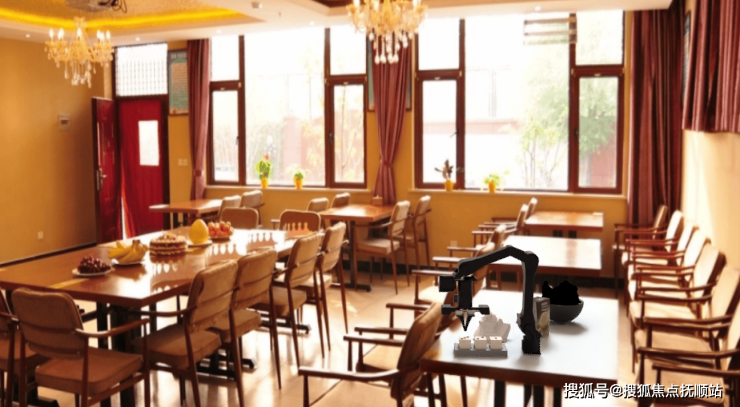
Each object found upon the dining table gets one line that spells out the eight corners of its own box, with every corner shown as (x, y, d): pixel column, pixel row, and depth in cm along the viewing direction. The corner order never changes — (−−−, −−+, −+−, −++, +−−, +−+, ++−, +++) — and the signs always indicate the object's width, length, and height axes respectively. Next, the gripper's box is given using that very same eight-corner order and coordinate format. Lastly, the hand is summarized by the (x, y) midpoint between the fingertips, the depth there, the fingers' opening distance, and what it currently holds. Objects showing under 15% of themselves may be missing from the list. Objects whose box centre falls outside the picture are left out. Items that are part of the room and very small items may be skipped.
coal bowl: (590, 321, 305) (591, 280, 303) (571, 331, 290) (571, 288, 289) (550, 314, 318) (550, 275, 317) (529, 323, 304) (530, 282, 302)
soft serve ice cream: (509, 348, 272) (505, 317, 268) (472, 348, 277) (468, 318, 272) (511, 332, 283) (507, 302, 279) (475, 333, 288) (472, 303, 284)
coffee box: (538, 339, 278) (538, 302, 277) (524, 336, 283) (525, 299, 281) (549, 335, 285) (550, 298, 283) (536, 332, 289) (536, 295, 288)
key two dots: (485, 346, 264) (485, 336, 264) (486, 349, 260) (486, 339, 259) (474, 346, 265) (474, 335, 264) (475, 349, 260) (475, 339, 260)
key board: (504, 349, 266) (504, 343, 266) (507, 356, 257) (507, 350, 257) (454, 349, 268) (454, 343, 267) (455, 356, 259) (455, 350, 258)
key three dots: (470, 346, 265) (470, 335, 264) (470, 349, 260) (470, 339, 260) (458, 346, 265) (458, 335, 265) (459, 349, 261) (459, 339, 260)
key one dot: (500, 346, 264) (500, 336, 263) (502, 350, 259) (502, 339, 259) (489, 346, 264) (489, 336, 264) (490, 349, 260) (490, 339, 259)
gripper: (487, 287, 268) (487, 325, 269) (440, 287, 269) (440, 325, 271) (490, 293, 257) (490, 333, 258) (441, 293, 258) (441, 333, 260)
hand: (465, 331), depth 262 cm, fingers closed
